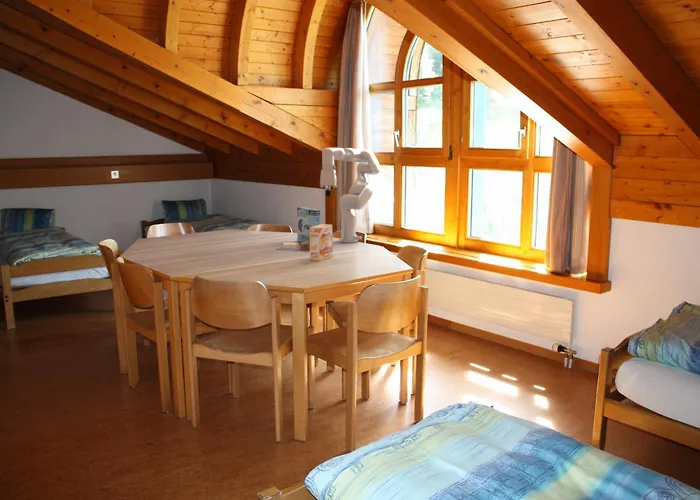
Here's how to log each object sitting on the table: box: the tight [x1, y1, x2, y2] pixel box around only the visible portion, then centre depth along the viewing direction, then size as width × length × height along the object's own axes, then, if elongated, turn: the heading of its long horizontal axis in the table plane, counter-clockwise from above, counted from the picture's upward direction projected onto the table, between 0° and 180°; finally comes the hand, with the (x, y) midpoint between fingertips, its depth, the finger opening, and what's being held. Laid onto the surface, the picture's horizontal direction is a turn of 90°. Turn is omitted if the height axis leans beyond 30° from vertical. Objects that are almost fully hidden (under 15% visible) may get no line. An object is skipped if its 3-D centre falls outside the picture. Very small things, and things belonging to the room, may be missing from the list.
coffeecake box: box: [309, 223, 333, 262], centre depth 397 cm, size 15×7×20 cm, turn 151°
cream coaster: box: [282, 241, 300, 249], centre depth 433 cm, size 8×8×2 cm
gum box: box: [296, 206, 321, 243], centre depth 449 cm, size 20×5×23 cm, turn 39°
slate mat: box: [276, 244, 301, 251], centre depth 433 cm, size 15×16×1 cm
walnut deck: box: [299, 240, 310, 252], centre depth 430 cm, size 9×14×4 cm, turn 165°
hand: (328, 196), depth 435 cm, fingers closed
